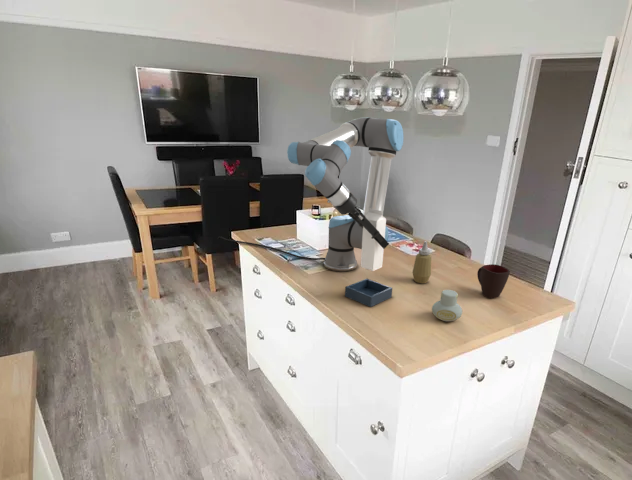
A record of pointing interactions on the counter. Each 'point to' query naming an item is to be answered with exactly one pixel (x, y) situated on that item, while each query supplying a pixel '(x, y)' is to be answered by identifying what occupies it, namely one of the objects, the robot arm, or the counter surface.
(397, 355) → the counter surface
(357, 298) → the blue square tray
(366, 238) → the milk
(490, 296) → the cup
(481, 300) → the counter surface
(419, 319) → the counter surface
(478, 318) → the counter surface
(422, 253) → the squeeze bottle
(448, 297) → the air freshener
